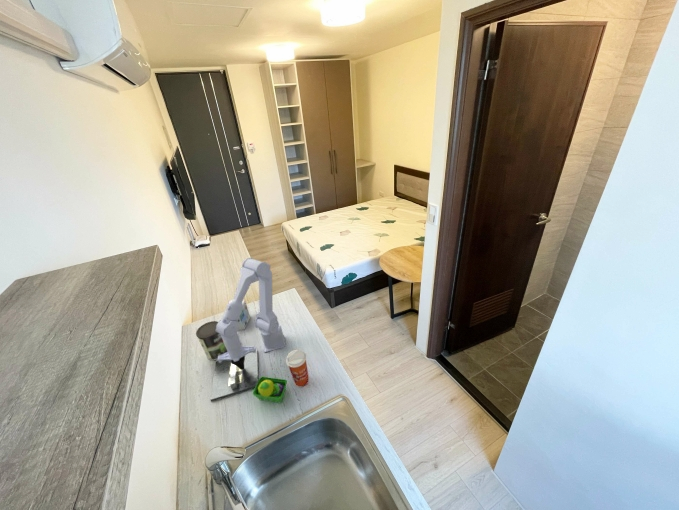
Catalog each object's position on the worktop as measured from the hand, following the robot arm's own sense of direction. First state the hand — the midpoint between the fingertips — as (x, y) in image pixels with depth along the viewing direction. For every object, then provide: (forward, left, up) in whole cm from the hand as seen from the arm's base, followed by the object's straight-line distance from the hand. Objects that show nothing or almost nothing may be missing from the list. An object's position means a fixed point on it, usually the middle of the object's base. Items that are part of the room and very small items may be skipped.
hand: (242, 367), depth 115 cm
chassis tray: (+3, 0, -2) cm, 4 cm away
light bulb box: (+2, -32, -2) cm, 32 cm away
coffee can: (+12, -16, -2) cm, 20 cm away
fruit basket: (-11, +16, -2) cm, 19 cm away
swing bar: (+3, +1, -1) cm, 3 cm away
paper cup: (-23, +13, -2) cm, 26 cm away
